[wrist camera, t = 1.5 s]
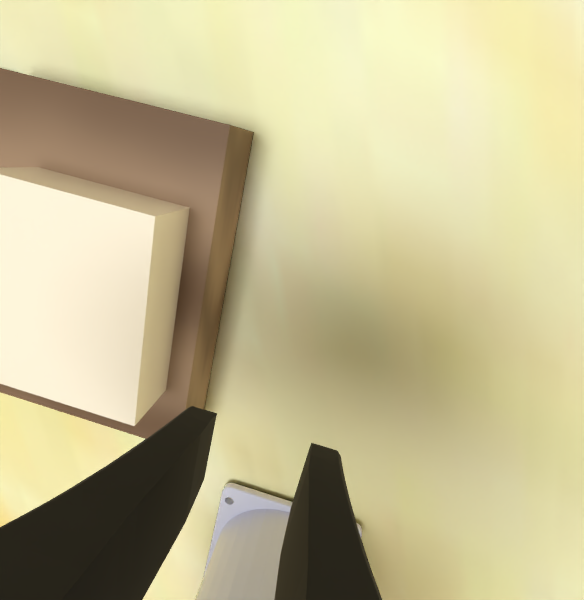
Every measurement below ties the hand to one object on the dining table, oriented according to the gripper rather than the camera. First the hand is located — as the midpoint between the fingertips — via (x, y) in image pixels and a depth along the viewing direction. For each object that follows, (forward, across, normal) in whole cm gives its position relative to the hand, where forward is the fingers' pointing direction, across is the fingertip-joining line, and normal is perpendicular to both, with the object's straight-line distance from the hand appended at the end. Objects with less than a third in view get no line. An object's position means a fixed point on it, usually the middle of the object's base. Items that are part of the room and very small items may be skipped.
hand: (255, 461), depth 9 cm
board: (+9, +9, 0) cm, 13 cm away
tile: (+5, +8, 0) cm, 9 cm away
